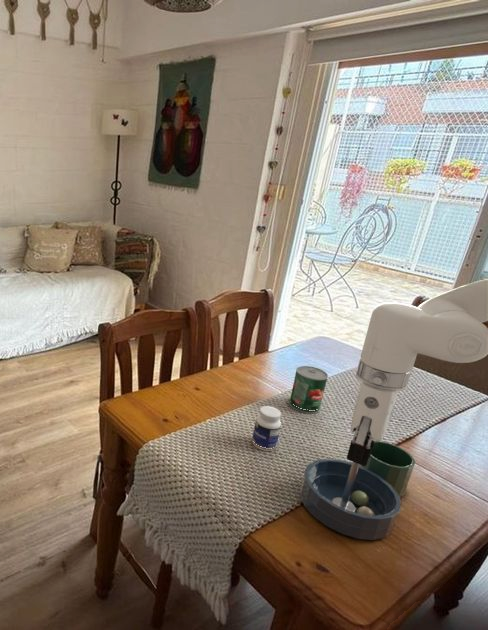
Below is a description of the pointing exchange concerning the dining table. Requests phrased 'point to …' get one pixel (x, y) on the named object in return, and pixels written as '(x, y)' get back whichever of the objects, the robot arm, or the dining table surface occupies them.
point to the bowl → (329, 483)
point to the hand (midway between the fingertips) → (358, 457)
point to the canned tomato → (308, 389)
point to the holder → (391, 465)
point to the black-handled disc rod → (348, 489)
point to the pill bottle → (267, 428)
